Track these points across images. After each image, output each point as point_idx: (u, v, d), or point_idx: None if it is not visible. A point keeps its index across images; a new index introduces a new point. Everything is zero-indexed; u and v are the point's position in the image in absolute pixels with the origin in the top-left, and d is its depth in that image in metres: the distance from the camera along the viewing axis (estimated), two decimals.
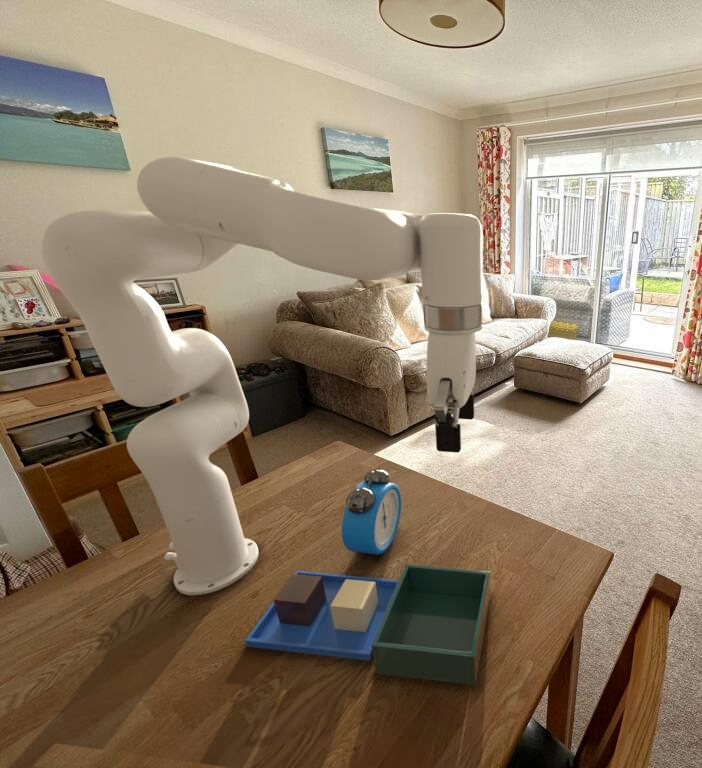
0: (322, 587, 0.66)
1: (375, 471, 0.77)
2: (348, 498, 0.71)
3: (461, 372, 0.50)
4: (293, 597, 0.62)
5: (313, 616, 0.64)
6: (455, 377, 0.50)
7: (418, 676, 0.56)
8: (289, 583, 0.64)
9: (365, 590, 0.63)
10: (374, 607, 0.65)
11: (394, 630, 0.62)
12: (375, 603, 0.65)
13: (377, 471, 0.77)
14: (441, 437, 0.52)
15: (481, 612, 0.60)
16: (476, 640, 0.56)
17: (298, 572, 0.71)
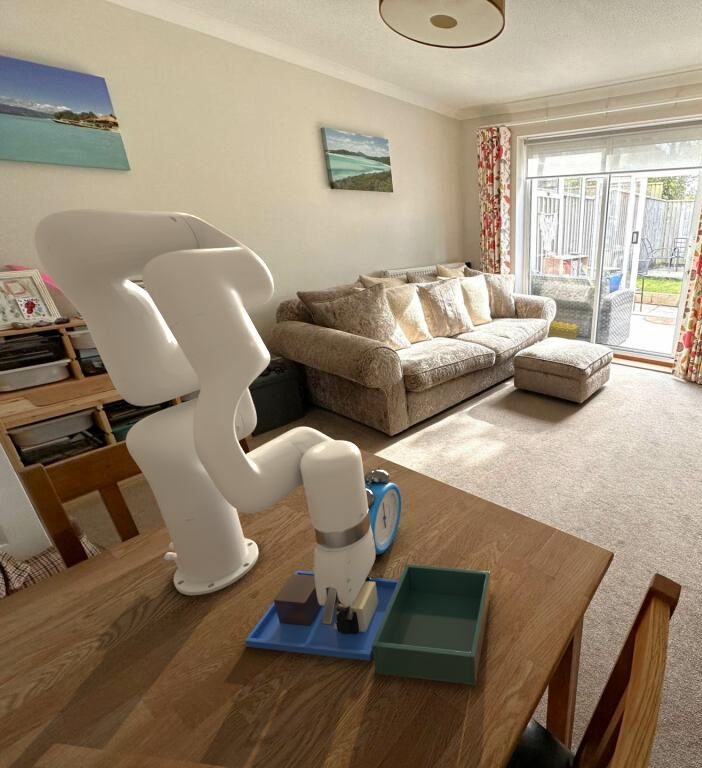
0: None
1: (375, 471, 0.77)
2: None
3: (344, 582, 0.55)
4: (293, 597, 0.62)
5: (313, 616, 0.64)
6: (339, 587, 0.55)
7: (418, 676, 0.56)
8: (289, 583, 0.64)
9: (365, 590, 0.63)
10: (374, 607, 0.65)
11: (394, 630, 0.62)
12: (375, 603, 0.65)
13: (377, 471, 0.77)
14: (339, 625, 0.60)
15: (481, 612, 0.60)
16: (476, 640, 0.56)
17: (298, 572, 0.71)
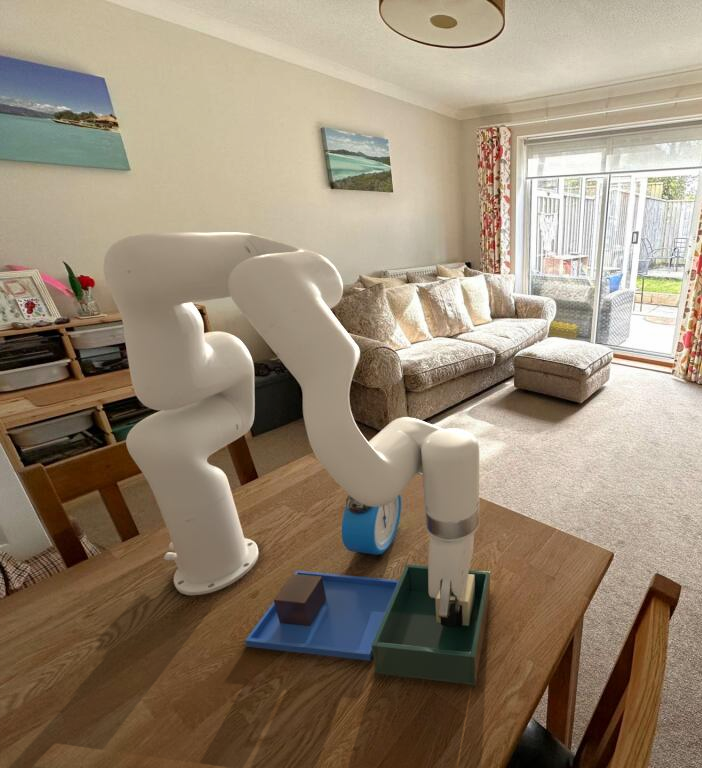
0: (322, 587, 0.66)
1: None
2: (348, 498, 0.71)
3: (460, 574, 0.54)
4: (293, 597, 0.62)
5: (313, 616, 0.64)
6: (454, 578, 0.54)
7: (418, 676, 0.56)
8: (289, 583, 0.64)
9: (466, 582, 0.62)
10: (473, 600, 0.64)
11: (394, 630, 0.62)
12: (473, 596, 0.64)
13: None
14: (445, 618, 0.59)
15: (481, 612, 0.60)
16: (476, 640, 0.56)
17: (298, 572, 0.71)
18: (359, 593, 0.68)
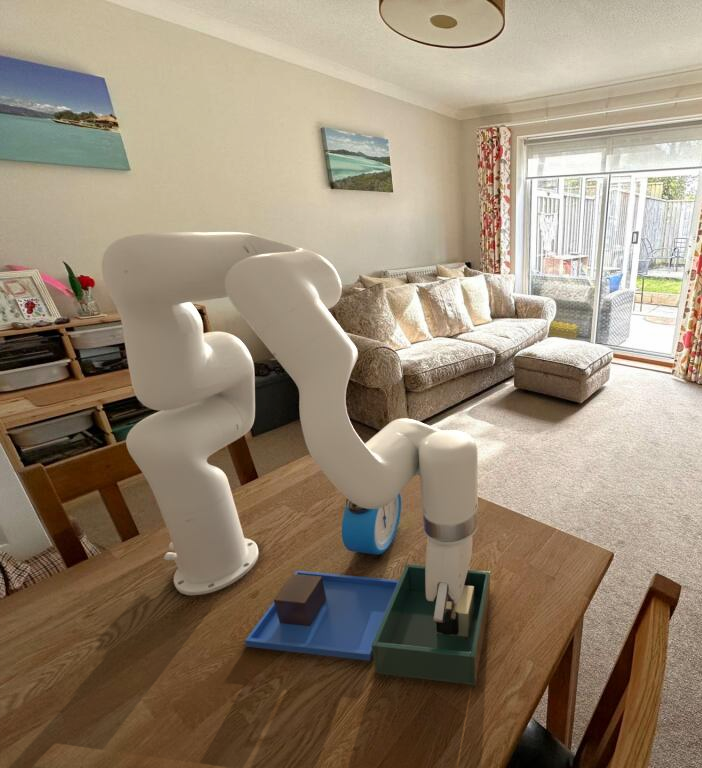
0: (322, 587, 0.66)
1: None
2: None
3: (457, 577, 0.54)
4: (293, 597, 0.62)
5: (313, 616, 0.64)
6: (451, 582, 0.54)
7: (418, 676, 0.56)
8: (289, 583, 0.64)
9: (466, 594, 0.63)
10: (472, 611, 0.65)
11: (394, 630, 0.62)
12: (473, 607, 0.65)
13: None
14: (441, 625, 0.57)
15: (481, 612, 0.60)
16: (476, 640, 0.56)
17: (298, 572, 0.71)
18: (359, 593, 0.68)
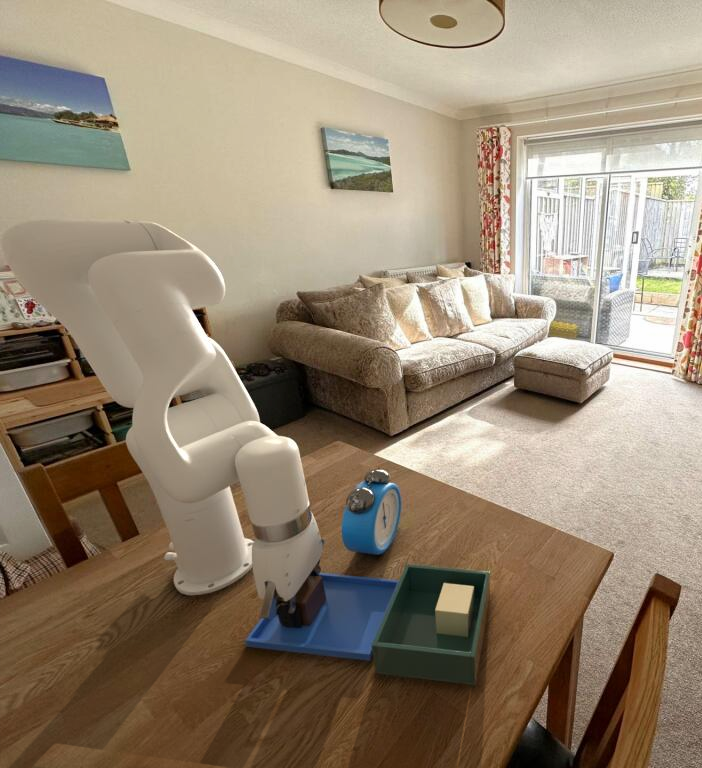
0: (322, 587, 0.66)
1: (375, 471, 0.77)
2: (348, 498, 0.71)
3: (282, 576, 0.56)
4: None
5: (313, 616, 0.64)
6: (277, 580, 0.56)
7: (418, 676, 0.56)
8: None
9: (466, 594, 0.63)
10: (472, 611, 0.65)
11: (394, 630, 0.62)
12: (473, 607, 0.65)
13: (377, 471, 0.77)
14: (281, 619, 0.61)
15: (481, 612, 0.60)
16: (476, 640, 0.56)
17: None
18: (359, 593, 0.68)
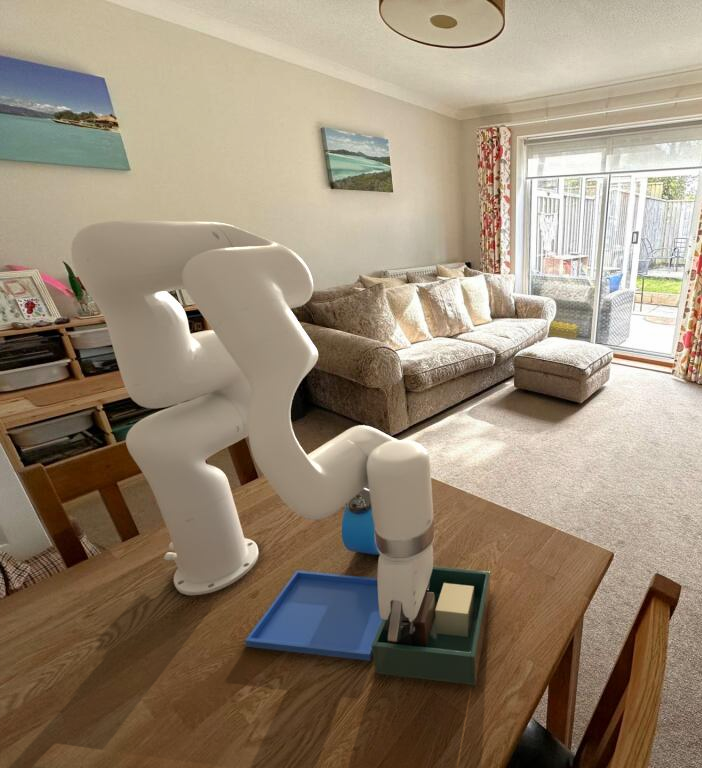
0: (434, 604, 0.61)
1: None
2: None
3: (411, 595, 0.51)
4: None
5: (428, 635, 0.58)
6: (405, 600, 0.51)
7: (418, 676, 0.56)
8: None
9: (466, 594, 0.63)
10: (472, 611, 0.65)
11: None
12: (473, 607, 0.65)
13: None
14: (399, 640, 0.55)
15: (481, 612, 0.60)
16: (476, 640, 0.56)
17: (298, 572, 0.71)
18: (359, 593, 0.68)
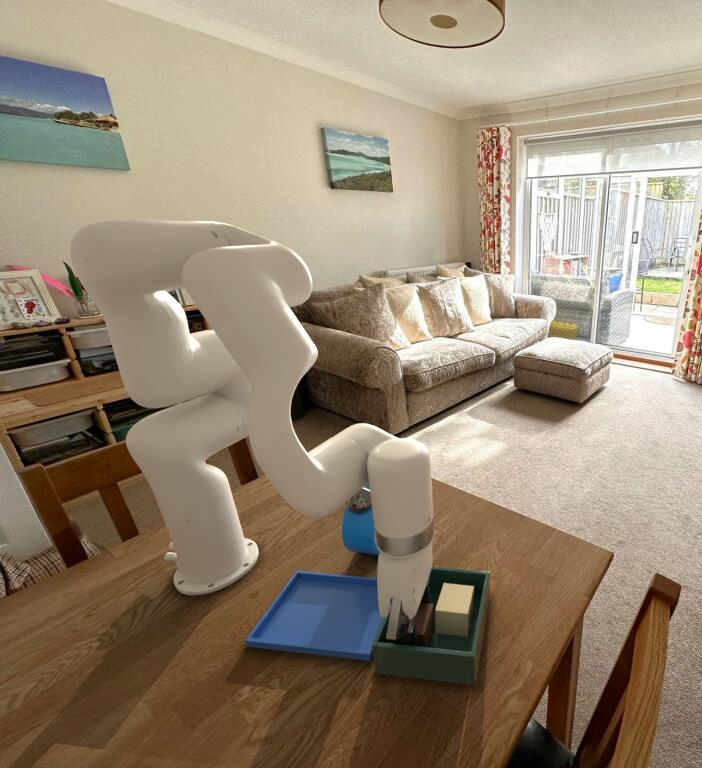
0: (433, 615, 0.62)
1: None
2: None
3: (410, 592, 0.51)
4: None
5: (427, 647, 0.59)
6: (405, 597, 0.51)
7: (418, 676, 0.56)
8: None
9: (466, 594, 0.63)
10: (472, 611, 0.65)
11: None
12: (473, 607, 0.65)
13: None
14: (398, 639, 0.55)
15: (481, 612, 0.60)
16: (476, 640, 0.56)
17: (298, 572, 0.71)
18: (359, 593, 0.68)
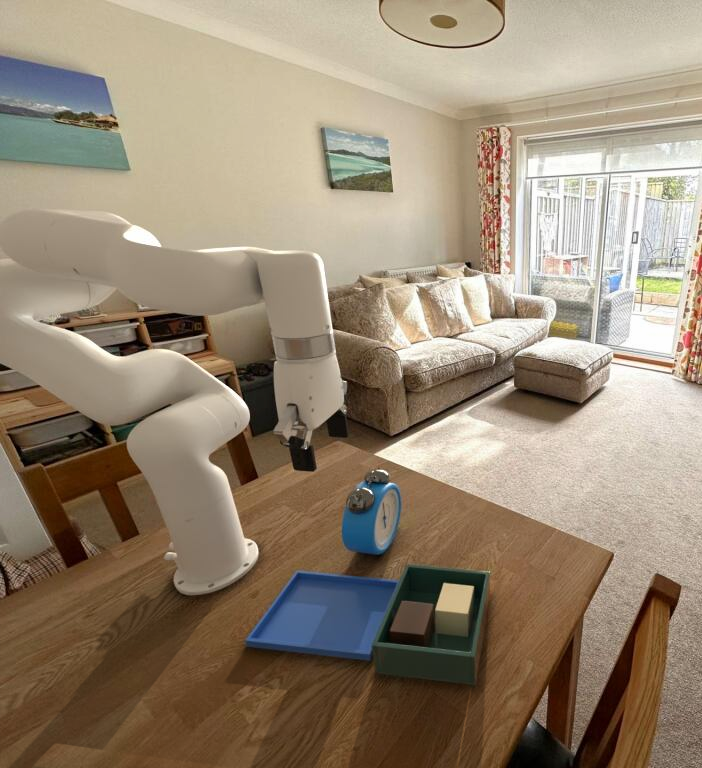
0: (433, 615, 0.62)
1: (375, 471, 0.77)
2: (348, 498, 0.71)
3: (306, 398, 0.53)
4: (410, 628, 0.57)
5: (427, 647, 0.59)
6: (301, 403, 0.53)
7: (418, 676, 0.56)
8: (400, 611, 0.60)
9: (466, 594, 0.63)
10: (472, 611, 0.65)
11: None
12: (473, 607, 0.65)
13: (377, 471, 0.77)
14: (294, 458, 0.56)
15: (481, 612, 0.60)
16: (476, 640, 0.56)
17: (298, 572, 0.71)
18: (359, 593, 0.68)
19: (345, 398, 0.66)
